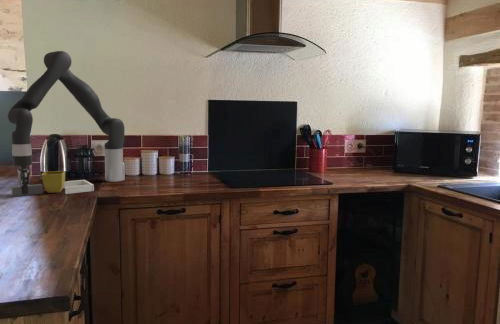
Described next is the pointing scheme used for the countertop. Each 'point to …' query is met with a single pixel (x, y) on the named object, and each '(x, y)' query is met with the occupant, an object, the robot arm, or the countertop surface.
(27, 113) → the robot arm
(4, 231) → the countertop surface
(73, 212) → the countertop surface
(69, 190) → the white shallow tray
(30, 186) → the tall gray bar
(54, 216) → the countertop surface
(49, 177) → the flower pot
